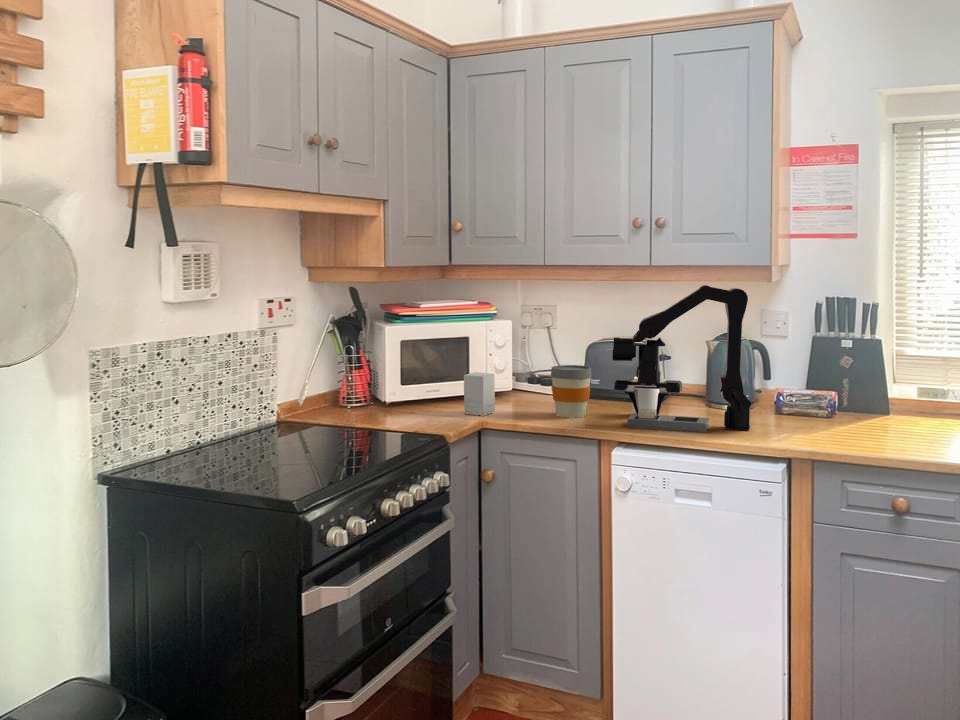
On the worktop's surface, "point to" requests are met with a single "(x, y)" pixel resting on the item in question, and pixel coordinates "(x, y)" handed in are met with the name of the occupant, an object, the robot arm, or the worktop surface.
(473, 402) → the supplement box
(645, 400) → the beverage can
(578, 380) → the reusable coffee cup
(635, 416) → the grey compartment tray
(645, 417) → the block
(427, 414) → the worktop surface
